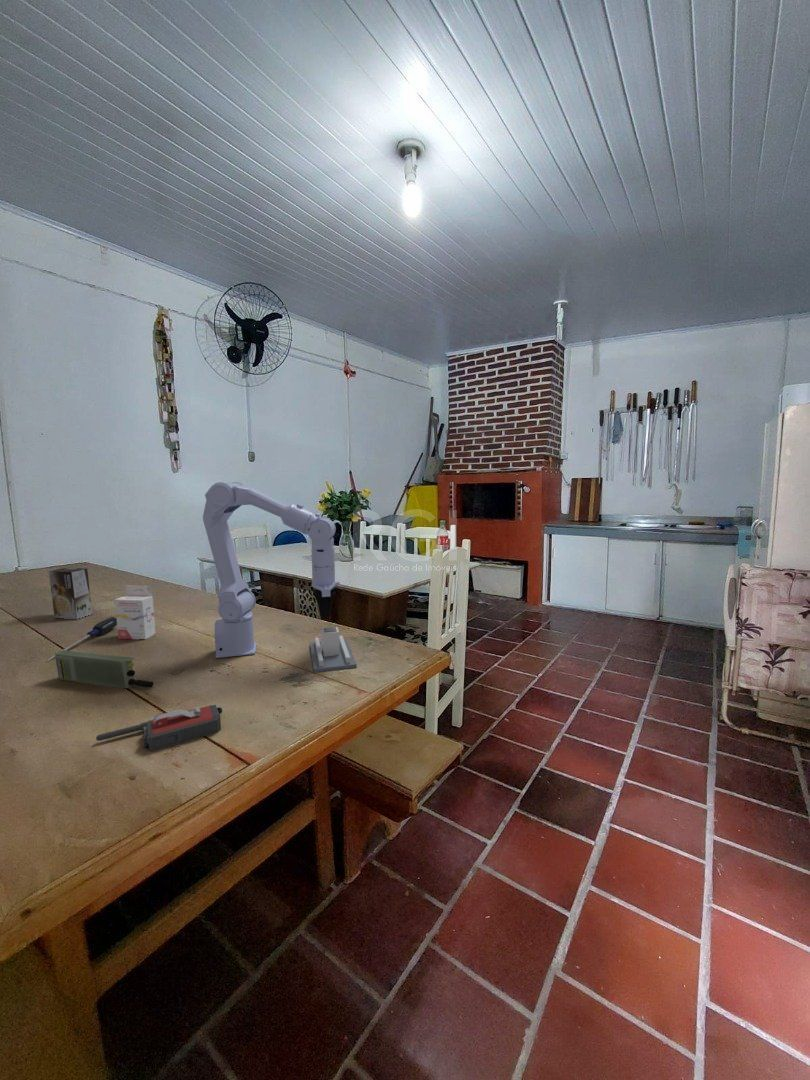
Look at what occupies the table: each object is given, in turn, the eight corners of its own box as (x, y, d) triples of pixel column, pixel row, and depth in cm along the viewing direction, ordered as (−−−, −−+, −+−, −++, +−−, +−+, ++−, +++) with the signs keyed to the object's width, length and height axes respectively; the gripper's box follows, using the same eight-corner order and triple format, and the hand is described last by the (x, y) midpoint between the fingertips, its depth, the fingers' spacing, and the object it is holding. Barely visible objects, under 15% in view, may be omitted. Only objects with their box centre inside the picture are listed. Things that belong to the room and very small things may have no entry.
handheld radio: (70, 675, 104) (158, 686, 98) (56, 681, 101) (146, 693, 95) (65, 648, 103) (155, 657, 97) (51, 654, 100) (143, 664, 94)
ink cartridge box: (117, 639, 127) (112, 589, 125) (129, 633, 132) (124, 584, 130) (145, 640, 126) (140, 589, 124) (156, 634, 131) (152, 585, 129)
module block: (323, 656, 111) (322, 632, 111) (322, 650, 115) (321, 627, 114) (339, 654, 112) (339, 631, 112) (337, 649, 116) (337, 626, 115)
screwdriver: (53, 662, 112) (52, 647, 111) (39, 662, 112) (37, 647, 111) (121, 628, 137) (120, 616, 137) (109, 628, 138) (108, 616, 137)
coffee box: (93, 614, 152) (88, 567, 150) (77, 620, 145) (71, 571, 143) (70, 613, 153) (65, 567, 151) (53, 618, 147) (47, 571, 145)
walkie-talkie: (220, 710, 88) (97, 742, 77) (218, 689, 87) (94, 718, 77) (228, 731, 80) (94, 770, 70) (227, 708, 80) (91, 743, 69)
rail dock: (313, 672, 104) (313, 662, 104) (309, 645, 121) (309, 637, 121) (356, 667, 107) (356, 658, 106) (346, 641, 124) (346, 633, 124)
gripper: (342, 570, 108) (343, 624, 109) (336, 559, 121) (337, 608, 123) (312, 571, 106) (314, 627, 108) (309, 561, 120) (311, 610, 122)
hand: (324, 617), depth 115 cm, fingers closed
